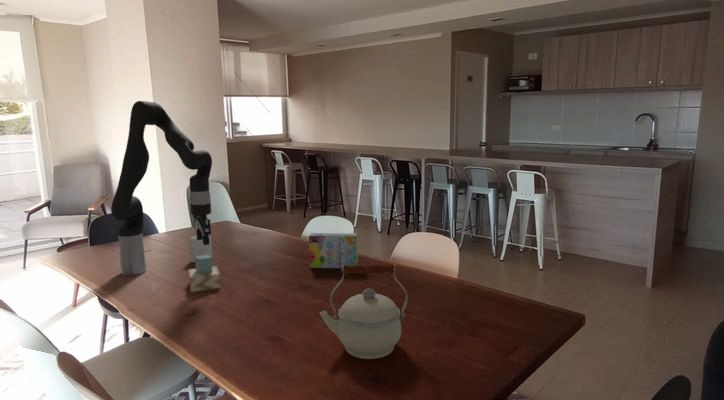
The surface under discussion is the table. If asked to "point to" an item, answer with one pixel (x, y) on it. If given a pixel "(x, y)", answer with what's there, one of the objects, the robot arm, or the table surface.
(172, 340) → the table surface
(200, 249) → the photo printer
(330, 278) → the table surface
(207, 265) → the teal block
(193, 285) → the birch block
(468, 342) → the table surface
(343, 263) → the snack box
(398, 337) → the kettle
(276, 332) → the table surface
